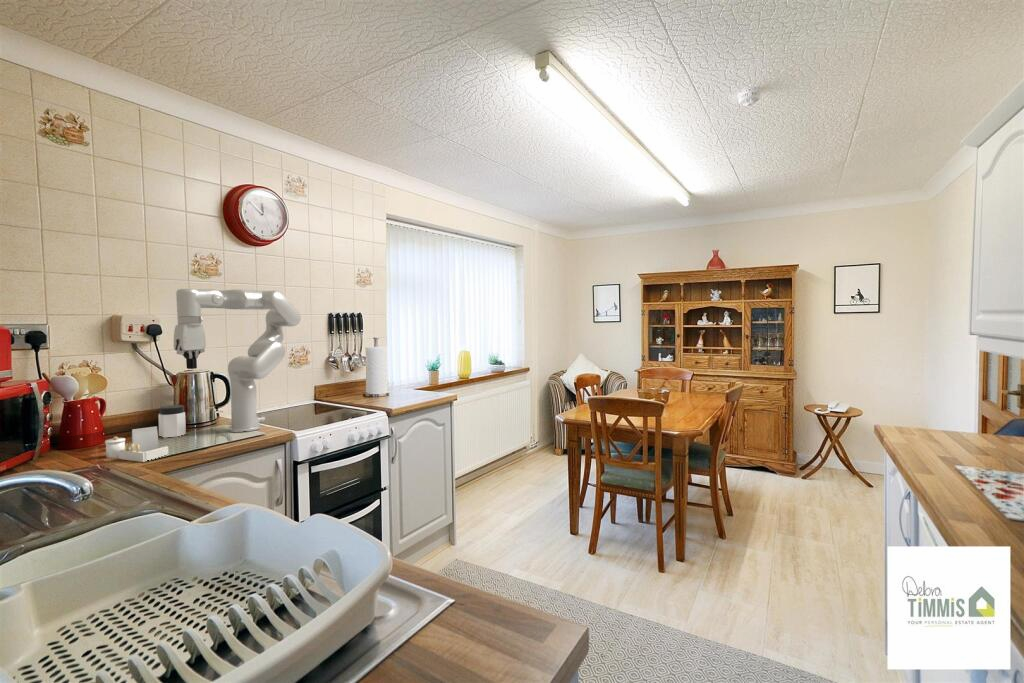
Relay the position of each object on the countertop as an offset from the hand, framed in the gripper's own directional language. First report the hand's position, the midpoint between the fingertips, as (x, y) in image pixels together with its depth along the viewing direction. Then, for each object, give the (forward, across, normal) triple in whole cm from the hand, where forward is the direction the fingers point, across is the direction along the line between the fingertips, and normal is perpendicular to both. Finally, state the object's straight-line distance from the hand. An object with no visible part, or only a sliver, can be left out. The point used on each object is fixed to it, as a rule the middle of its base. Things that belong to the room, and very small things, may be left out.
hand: (191, 368), depth 181 cm
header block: (+28, +22, +3) cm, 35 cm away
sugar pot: (+28, +24, -8) cm, 37 cm away
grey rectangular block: (+28, +21, +3) cm, 35 cm away
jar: (+29, -4, -16) cm, 33 cm away
